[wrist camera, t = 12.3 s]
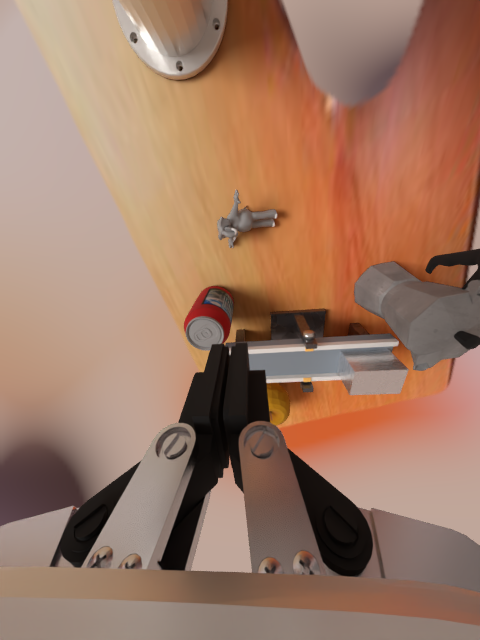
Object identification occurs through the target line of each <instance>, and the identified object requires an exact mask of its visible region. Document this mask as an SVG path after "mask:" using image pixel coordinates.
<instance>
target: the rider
mask: <svg viewBox="0 0 480 640" xmlns="http://www.w3.org/2000/svg"><path fill="white" fill-rule="evenodd" d="M408 370H409V369H408V368H407V367H406V366H405V365H404V364H403V363H402V362H400V361H399V360H398V359H397V358H396V357H395V356H394V355H393V354H392V353H391V352H390V351H389V350H388V349H387V348H377V349H356V350H340V356H339V363H338V369H337V373H338V375H339V377H340V378H341V380H342V382H343V384H344V386H345V387H346V389H347V391H348V393H349V395H369V394H399V393H400V392H401V389H402V386H403V384H404V381H405V378H406V375H407V372H408Z"/></svg>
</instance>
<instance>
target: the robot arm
mask: <svg viewBox="0 0 480 640" xmlns="http://www.w3.org/2000/svg"><path fill="white" fill-rule="evenodd" d="M112 1H113V5H114V9H115V12H116V16H117V19H118V22H119V24H120V26H121V29H122V31H123V33H124V35H125V37H126V39H127V41H128V42H129V44H130V46H131V47H132V49H133V50H134V52H135V53H136V54H137V56H138V57H139V58H140V59H141V60H142V61H143V62H144V64H145V65H146V66H147V67H148V68H150V69H151V70H153V71H154V72H155V73H157V74H159V75H161V76H163V77H165V78H169V79H174V80H181V79H187V78H190V77H193V76H195V75H197V74H198V73H199V72H201V71H202V70H204V68H205V67H206V66H207V65H208V64H209V63H210V62H211V60H212V59H213V57H214V56H215V54H216V52H217V51H218V48H219V46H220V43H221V41H222V38H223V34H224V30H225V26H226V21H227V12H228V0H112ZM217 27H218V28H219V29H218V30H215V29H216V28H217ZM136 41H137V43H136ZM180 68H183V70H182V71H180ZM229 456H230V460H231V465H232V468H233V473H234V478H235V483H236V484H237V486H238V487H239V488H240V489H241V491H242V492H243V493H244V499H245V509H246V518H247V528H248V537H249V546H250V555H251V564H252V573H241V572H210V571H209V572H208V571H191V567H192V563H193V559H194V556H195V552H196V548H197V544H198V541H199V537H200V533H201V529H202V525H203V521H204V517H205V514H206V510H207V506H208V502H209V499H210V492H211V489H212V488H213V487H214V486H215V485H216V484H217V483H218V478H222V477H223V469H224V468H228V466H229ZM0 640H480V545H478V544H477V543H475V542H474V541H473V540H471V539H470V538H469V537H467V536H466V535H464V534H461V533H459V532H457V531H454V530H452V529H448V528H445V527H441V526H437V525H434V524H430V523H426V522H422V521H419V520H415V519H411V518H407V517H404V516H400V515H396V514H392V513H389V512H385V511H382V510H378V509H374V508H371V511H369V510H366V509H362V508H358V507H356V505H355V504H354V503H353V502H352V501H350V500H349V499H348V498H347V497H346V496H344V495H343V494H342V493H341V492H340V491H338V490H337V489H336V488H335V487H334V486H332V485H331V484H330V483H329V482H328V481H326V480H325V479H324V478H323V477H322V476H320V475H319V474H318V473H317V472H316V471H315V470H313V469H312V468H311V467H309V465H307V464H306V463H305V462H304V461H303V460H301V459H300V458H299V457H298V456H297V455H295V454H294V453H293V452H292V451H291V450H289V449H288V448H287V446H286V443H285V439H284V436H283V435H282V433H281V431H280V430H279V429H278V428H277V426H275V425H273V424H272V423H270V414H269V403H268V393H267V383H266V373H265V370H250V365H249V353H248V343H247V342H245V343H236V346H232V347H231V354H230V353H229V347H228V346H227V347H225V346H224V344H212V346H211V349H210V353H209V356H208V360H207V363H206V367H205V371H204V372H199V373H195V375H194V377H193V381H192V383H191V387H190V389H189V393H188V396H187V398H186V402H185V405H184V407H183V410H182V413H181V416H180V419H179V423H175V424H172V425H169V426H167V427H166V428H164V429H163V430H161V432H159V433H158V434H157V436H156V437H155V438H154V440H153V441H152V443H151V445H150V447H149V449H148V450H147V452H146V454H145V456H144V457H143V459H142V461H140V462H139V463H137V464H136V465H135V466H133V467H132V468H131V469H130V470H128V471H127V472H125V473H124V474H123V475H121V476H120V477H119V478H118V479H116V480H115V481H113V482H112V483H111V484H109V485H108V486H107V487H105V488H104V489H103V490H101V491H100V492H99V493H97V494H96V495H95V496H93V497H92V498H91V499H89V500H88V501H87V502H86V503H85V504H84V505H82V506H81V507H80V508H75V507H74V506H71V507H67V508H64V509H60V510H56V511H52V512H49V513H45V514H41V515H38V516H34V517H30V518H26V519H23V520H19V521H15V522H11V523H8V524H5V525H3V526H1V527H0Z"/></svg>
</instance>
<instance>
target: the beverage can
mask: <svg viewBox="0 0 480 640" xmlns="http://www.w3.org/2000/svg"><path fill="white" fill-rule="evenodd" d="M233 308H234V300H233V297H232V295H231V294H230V293H229V292H228V291H227V290H226V289H224V288H222V287H219V286H211V287H208V288H206V289H204V290H203V291H202V292H201V293H200V295H199V297H198V298H197V300H196V301H195V303H194V305H193V306H192V308H191V310H190V312H189V313H188V315H187V317H186V319H185V322H184V330H185V333H186V337H187V339H188V341H189V342H190V344H191V345H193V346H194V347H196V348H198V349H200V350H210V349H211V346H212V344H223V343H224V342H225V341H226V340H227V338H228V336H229V333H230V327H231V322H232V315H233Z"/></svg>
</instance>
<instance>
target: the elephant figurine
mask: <svg viewBox="0 0 480 640" xmlns="http://www.w3.org/2000/svg"><path fill="white" fill-rule="evenodd" d="M238 195H239V193H238V191H237V190H235V194H234V205H233V208H232V210H231V212H230V214H229V215H228V217H227V219H225V218H223V217H220V219H219V220H218V222H217V227H218V231H219V236H218V237H219V239H220V240H222V239H223V238H226V237H229V240H228V241H229V247H230V248H231V246H232V248H233V242H234V241H235V239H236V237H237V236H238V232H237V231H240V232H247V231H250V229H251V228H258V227H270V226H272V227H274V226H275V222H274V219H273V218H275V219H276V218H277V212H276V210H275V209H271V210H267V211H263V212H251V211H249V210H247V209H246V207H247V206H246V207H245V208H244V209H241V210H239V211H238V203H241V202H240V201H239V198H238ZM259 219H263V220H259ZM233 238H234V240H233Z"/></svg>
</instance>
